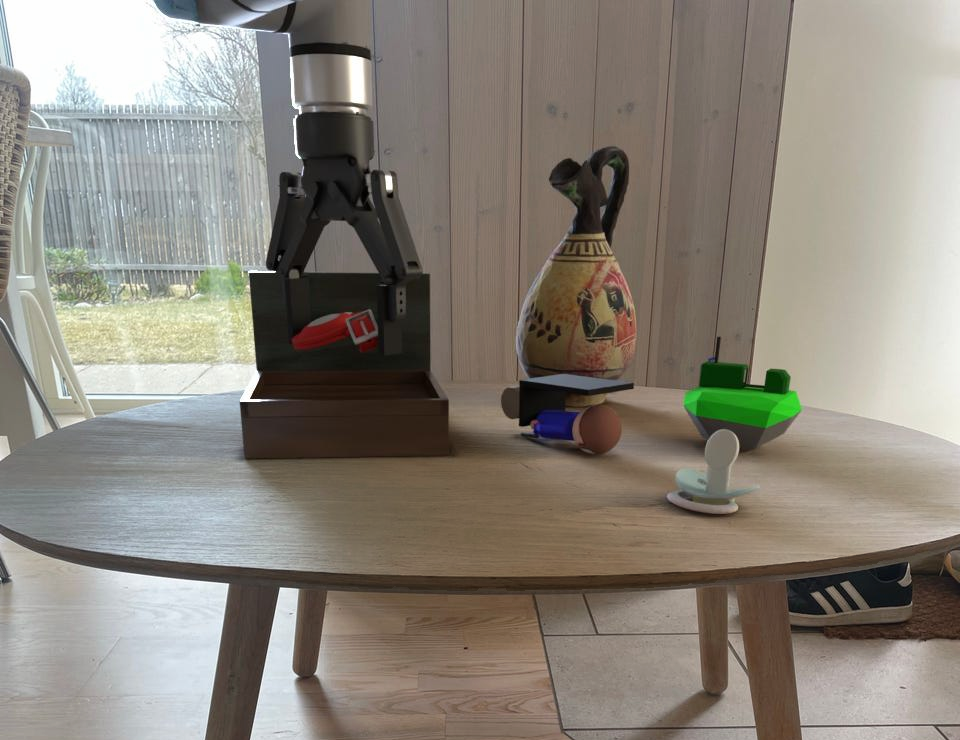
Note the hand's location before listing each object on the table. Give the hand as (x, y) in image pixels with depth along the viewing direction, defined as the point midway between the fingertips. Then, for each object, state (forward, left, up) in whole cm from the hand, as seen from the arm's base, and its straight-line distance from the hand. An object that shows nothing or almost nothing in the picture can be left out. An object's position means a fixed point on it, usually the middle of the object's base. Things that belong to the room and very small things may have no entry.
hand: (344, 348), depth 97 cm
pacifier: (+42, 0, -9) cm, 43 cm away
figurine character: (+20, +12, -9) cm, 25 cm away
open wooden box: (0, 0, -9) cm, 9 cm away
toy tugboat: (+35, +23, -9) cm, 43 cm away
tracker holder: (-1, 0, 0) cm, 1 cm away
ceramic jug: (+7, +36, -9) cm, 38 cm away
